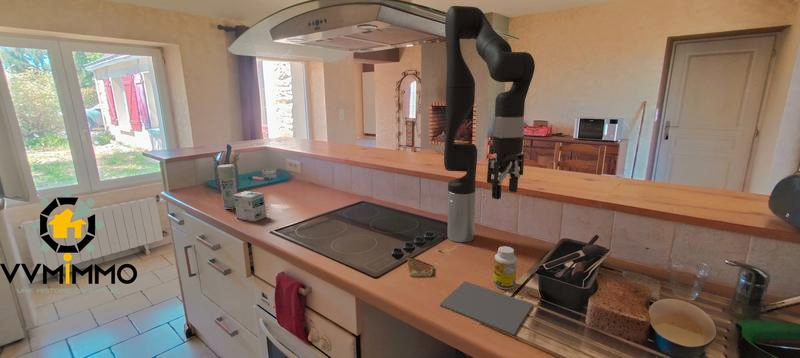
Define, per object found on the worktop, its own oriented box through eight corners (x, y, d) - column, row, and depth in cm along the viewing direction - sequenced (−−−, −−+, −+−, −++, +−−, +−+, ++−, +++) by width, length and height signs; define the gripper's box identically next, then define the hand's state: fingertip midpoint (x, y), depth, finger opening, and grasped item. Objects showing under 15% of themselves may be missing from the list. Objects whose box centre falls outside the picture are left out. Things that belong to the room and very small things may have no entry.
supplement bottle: (491, 279, 94) (492, 244, 91) (511, 279, 94) (513, 244, 91) (496, 290, 89) (498, 254, 86) (518, 290, 88) (520, 254, 86)
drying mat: (464, 282, 93) (464, 281, 93) (532, 305, 82) (533, 304, 82) (439, 305, 83) (439, 304, 83) (513, 335, 72) (513, 334, 72)
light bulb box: (267, 217, 147) (264, 192, 144) (254, 222, 141) (251, 197, 138) (249, 213, 151) (245, 190, 148) (236, 218, 145) (232, 194, 143)
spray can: (239, 204, 164) (234, 163, 159) (238, 208, 158) (232, 166, 153) (224, 206, 162) (218, 165, 157) (223, 210, 156) (216, 167, 151)
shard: (407, 260, 107) (407, 254, 106) (431, 259, 107) (431, 254, 107) (408, 278, 96) (408, 272, 96) (435, 277, 96) (436, 271, 96)
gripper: (509, 131, 95) (505, 187, 99) (479, 136, 86) (477, 198, 90) (535, 132, 90) (530, 192, 94) (507, 138, 81) (503, 204, 84)
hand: (504, 195), depth 92 cm, fingers open, 8 cm apart
